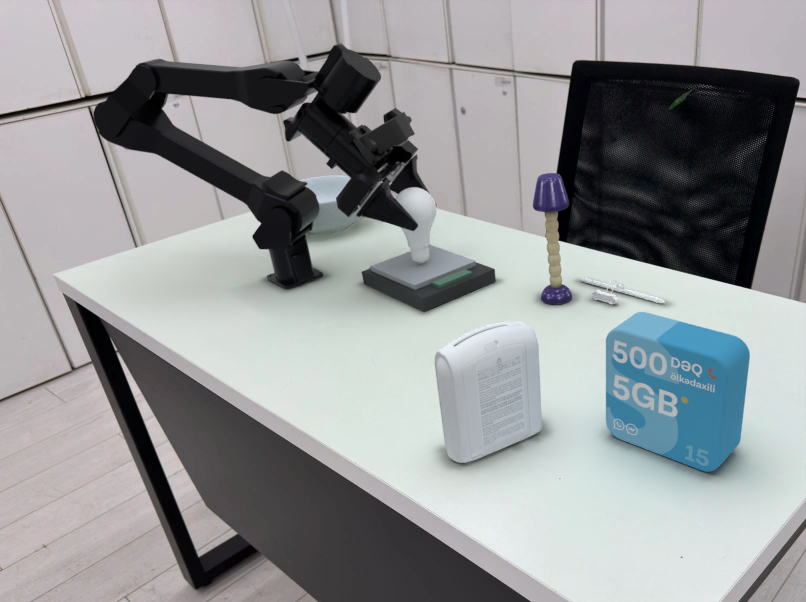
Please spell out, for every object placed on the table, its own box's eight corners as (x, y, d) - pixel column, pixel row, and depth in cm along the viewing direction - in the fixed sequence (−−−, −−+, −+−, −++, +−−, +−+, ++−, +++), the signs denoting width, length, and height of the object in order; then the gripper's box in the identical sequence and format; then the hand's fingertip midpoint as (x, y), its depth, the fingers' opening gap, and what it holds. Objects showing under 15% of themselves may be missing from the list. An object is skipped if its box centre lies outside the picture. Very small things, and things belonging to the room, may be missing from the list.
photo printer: (525, 413, 77) (518, 305, 71) (549, 431, 74) (544, 320, 68) (438, 449, 73) (422, 338, 67) (460, 471, 70) (445, 355, 63)
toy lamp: (532, 301, 101) (524, 179, 92) (546, 288, 104) (540, 169, 96) (564, 306, 99) (560, 182, 90) (578, 293, 102) (575, 171, 94)
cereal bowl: (289, 250, 125) (280, 209, 121) (273, 223, 138) (264, 185, 134) (387, 230, 130) (381, 190, 126) (362, 206, 143) (356, 169, 140)
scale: (363, 284, 110) (360, 266, 109) (432, 257, 117) (430, 240, 116) (424, 312, 100) (421, 293, 99) (496, 281, 108) (494, 263, 106)
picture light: (666, 303, 98) (667, 288, 97) (648, 315, 95) (648, 300, 94) (581, 280, 106) (581, 266, 105) (562, 290, 103) (562, 276, 102)
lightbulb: (436, 271, 105) (427, 194, 99) (394, 271, 106) (383, 194, 100) (446, 255, 110) (438, 181, 104) (407, 255, 111) (397, 181, 106)
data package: (604, 434, 73) (604, 325, 67) (629, 413, 76) (631, 307, 70) (717, 478, 66) (729, 361, 60) (739, 453, 69) (752, 339, 63)
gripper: (342, 108, 89) (440, 198, 92) (395, 80, 105) (477, 158, 108) (296, 174, 95) (390, 257, 98) (352, 138, 110) (432, 211, 114)
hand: (425, 218), depth 104 cm, fingers open, 8 cm apart
